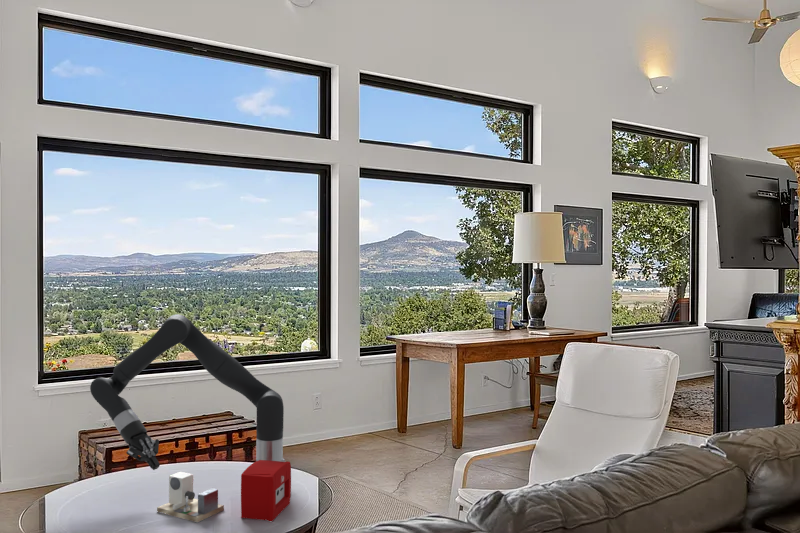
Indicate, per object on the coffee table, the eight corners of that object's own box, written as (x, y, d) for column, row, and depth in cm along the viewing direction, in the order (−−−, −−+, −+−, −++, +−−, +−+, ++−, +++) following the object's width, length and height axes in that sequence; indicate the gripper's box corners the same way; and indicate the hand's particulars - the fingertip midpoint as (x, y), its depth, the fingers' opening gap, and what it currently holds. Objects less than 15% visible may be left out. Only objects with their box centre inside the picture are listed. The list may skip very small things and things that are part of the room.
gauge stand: (157, 512, 238) (157, 506, 238) (184, 500, 249) (184, 495, 249) (197, 522, 230) (197, 516, 230) (223, 509, 241) (223, 504, 241)
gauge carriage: (161, 506, 238) (161, 478, 237) (180, 498, 245) (180, 471, 245) (179, 510, 234) (179, 482, 234) (197, 502, 241) (197, 475, 241)
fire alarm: (273, 522, 232) (273, 474, 231) (240, 518, 234) (241, 471, 233) (291, 503, 248) (291, 459, 247) (260, 501, 250) (260, 456, 249)
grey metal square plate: (197, 513, 234) (197, 494, 234) (211, 506, 240) (212, 488, 239) (203, 514, 233) (204, 495, 233) (217, 508, 238) (218, 489, 238)
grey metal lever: (183, 511, 234) (183, 497, 233) (187, 509, 235) (187, 495, 235) (186, 512, 233) (186, 497, 233) (190, 510, 235) (190, 495, 235)
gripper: (119, 423, 244) (147, 466, 239) (150, 415, 256) (177, 456, 250) (108, 437, 246) (135, 480, 241) (139, 428, 258) (165, 469, 253)
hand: (156, 467), depth 246 cm, fingers closed
